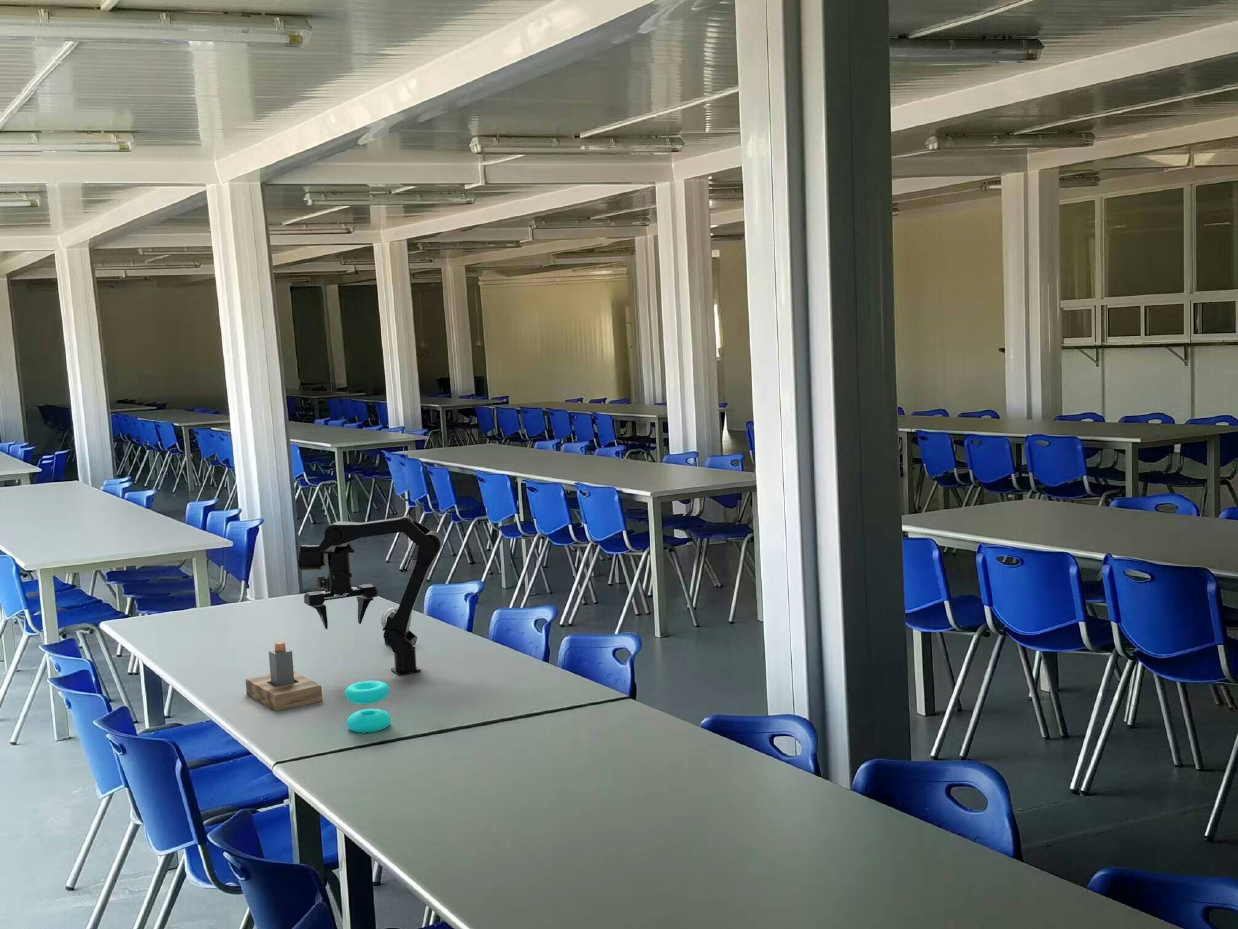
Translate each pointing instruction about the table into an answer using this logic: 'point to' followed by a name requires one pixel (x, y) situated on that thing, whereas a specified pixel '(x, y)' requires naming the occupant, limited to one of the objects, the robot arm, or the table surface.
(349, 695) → the donuts
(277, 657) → the gray square post
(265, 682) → the wooden block with hole
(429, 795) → the table surface
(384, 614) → the watch
